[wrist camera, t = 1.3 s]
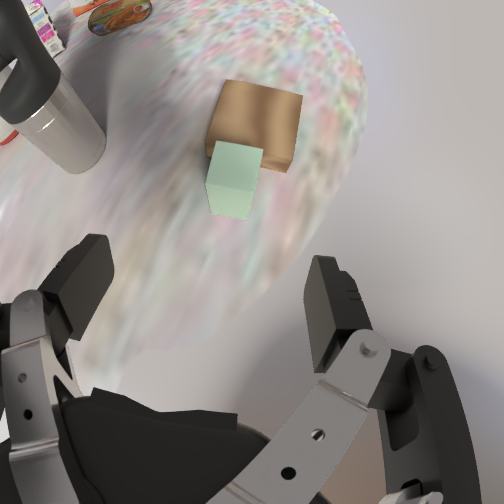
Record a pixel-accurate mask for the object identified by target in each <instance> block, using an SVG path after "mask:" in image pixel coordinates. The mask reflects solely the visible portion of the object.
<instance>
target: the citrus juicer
mask: <svg viewBox="0 0 504 504" xmlns="http://www.w3.org/2000/svg"><path fill="white" fill-rule="evenodd" d="M11 72H12V69H11V68H10V67H9V66H7V67H5V68H4V69H3V70H2V71H1V72H0V91H1V89H2V87H3V85H4V83H5V82H6V80H7V78H8V77H9V75H10V74H11ZM18 133H19V132H18V131H17V130H16V129H14V128H13V127H12V126H11V125H10V124H9V123H7V122H6V121H5V120H4V119H3V118H2V117H1V116H0V145H4V144H7V143H8V142H10V141H11V140H12V139H13V138H14V137H15V136H16V135H17V134H18Z"/></svg>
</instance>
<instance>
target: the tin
mask: <svg viewBox="0 0 504 504" xmlns="http://www.w3.org/2000/svg"><path fill="white" fill-rule="evenodd" d="M151 9H152V4H151V2H150V0H114V1H111V2H109V3H106V4H104V5H101V6H99V7H98V8H96V9H95V10H94V11H93V12H92V14H91V15H90V18H89V21H88V28H89V30H90V31H91V32H92V33H94V34H98V35H105V34H109V33H111V32H114V31H116V30H119V29H121V28H124V27H127V26H130V25H132V24H135V23H138V22H140V21H142V20H144V19H145V18H146V17H147V16H148V15H149V14H150V12H151Z"/></svg>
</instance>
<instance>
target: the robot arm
mask: <svg viewBox="0 0 504 504" xmlns="http://www.w3.org/2000/svg"><path fill="white" fill-rule="evenodd" d="M16 58H17V59H18V60H17V62H16V65H15V67H14V69H13V70H12V72H11V74H10V75H9V77H8V78H7V80H6V82H5V83H4V85H3V87H2V89H1V91H0V116H1V117H2V118H3V119H4V120H5V121H6V122H7V123H9V124H10V125H11V126H12V127H13V128H14V129H16V130H17V131H18V132H19V133H20V134H22V135H23V136H24V137H25V138H26V139H28V140H29V141H30V142H31V143H32V144H34V145H35V146H36V147H37V148H38V149H40V150H41V151H42V152H43V153H44V154H46V155H47V156H48V157H49V158H51V159H52V160H53V161H54V162H55V163H57V164H58V165H59V166H60V167H62V168H63V169H64V170H66V171H67V172H69V173H72V174H78V173H82V172H85V171H86V170H88V169H90V168H91V167H92V166H93V165H94V164H95V163H96V162H97V161H98V160H99V158H100V157H101V155H102V153H103V151H104V148H105V145H106V137H105V134H104V132H103V130H102V129H101V128H100V126H99V125H98V123H97V122H96V121H95V119H94V118H93V116H92V115H91V113H90V112H89V111H88V109H87V108H86V106H85V105H84V104H83V102H82V101H81V99H80V98H79V96H78V95H77V93H76V92H75V91H74V89H73V88H72V86H71V85H70V83H69V82H68V80H67V79H66V77H65V76H64V74H63V73H62V71H61V70H60V68H59V67H58V65H57V64H56V63H55V61H54V60H53V58H52V57H51V55H50V54H49V52H48V51H47V49H46V48H45V46H44V44H43V43H42V41H41V39H40V37H39V35H38V33H37V32H36V30H35V27H34V25H33V23H32V21H31V19H30V17H29V15H28V13H27V11H26V9H25V7H24V5H23V3H22V1H21V0H0V72H1V71H2V70H3V69H4V68H5V67H7V66H8V65H9V64H10V63H11V62H12V61H13V60H14V59H16ZM113 277H114V264H113V260H112V255H111V250H110V245H109V240H108V238H107V236H106V235H101V234H88V235H86V237H85V238H84V239H83V240H82V241H81V242H80V243H79V245H76V246H75V247H73V248H72V249H70V250H69V251H67V253H66V254H65V255H64V256H63V257H62V259H61V261H59V262H58V263H57V265H56V267H55V268H53V270H52V271H51V272H50V273H49V275H48V276H47V277H46V279H45V280H44V281H43V282H42V284H41V285H40V286H39V288H38V289H37V290H27V291H24V292H22V293H21V294H19V295H18V296H17V297H16V298H15V299H14V301H13V302H12V303H6V304H1V303H0V420H1V417H2V414H3V411H4V408H5V411H6V418H7V424H8V430H9V435H10V438H8V439H6V440H5V441H3V442H2V443H0V504H332V503H331V502H330V501H329V500H328V499H327V498H326V497H324V495H323V494H321V492H319V490H320V488H321V487H322V485H323V484H324V483H325V481H326V480H327V478H328V477H329V476H330V474H331V473H332V471H333V470H334V468H335V467H336V466H337V464H338V462H339V461H340V459H341V458H342V456H343V455H344V453H345V452H346V450H347V448H348V447H349V445H350V443H351V442H352V440H353V439H354V437H355V435H356V433H357V432H358V430H359V428H360V426H361V425H362V423H363V421H364V419H365V417H366V415H367V413H368V410H369V408H374V409H377V413H378V420H379V426H380V433H381V440H382V449H383V457H384V467H385V478H386V491H387V496H385V497H384V498H383V499H382V500H381V501H380V502H379V504H482V501H481V491H480V484H479V477H478V471H477V465H476V460H475V454H474V450H473V445H472V441H471V436H470V432H469V428H468V424H467V421H466V417H465V414H464V410H463V407H462V403H461V400H460V397H459V394H458V391H457V388H456V385H455V382H454V379H453V376H452V374H451V371H450V368H449V365H448V363H447V360H446V358H445V356H444V355H443V354H442V353H441V352H440V351H439V350H438V349H436V348H435V347H432V346H429V345H423V346H420V347H418V348H417V349H416V350H415V352H414V353H413V354H409V353H405V352H401V351H397V350H394V349H391V348H390V345H389V343H388V341H387V340H386V339H385V338H384V337H383V336H382V335H380V334H379V333H377V332H375V331H373V329H372V326H371V323H370V320H369V317H368V315H367V312H366V309H365V306H364V304H363V301H361V299H362V298H361V296H360V293H359V292H358V288H357V285H356V283H355V280H354V279H353V278H352V277H351V276H350V275H349V274H348V273H347V272H346V271H340V270H339V267H338V265H337V262H336V259H335V258H334V257H330V256H320V255H315V256H314V257H313V259H312V263H311V266H310V270H309V274H308V277H307V281H306V284H305V289H304V307H305V313H306V319H307V325H308V332H309V339H310V346H311V352H312V360H313V367H314V373H325V375H324V377H323V378H322V379H321V380H320V381H319V382H318V383H317V384H316V386H315V387H314V388H313V389H312V391H311V392H310V393H309V395H308V396H307V397H306V399H305V400H304V401H303V402H302V404H301V405H300V406H299V408H298V409H297V410H296V411H295V412H294V414H293V415H292V416H291V417H290V419H289V420H288V421H287V422H286V423H285V425H284V426H283V427H282V428H281V430H280V431H279V432H278V433H277V434H276V435H275V436H274V437H273V439H272V440H270V439H269V438H268V437H267V436H265V435H264V434H262V433H261V432H259V431H257V430H255V429H253V428H251V427H249V426H246V425H243V424H241V423H238V422H237V416H238V414H235V413H223V412H213V411H205V410H190V411H178V412H177V411H176V412H157V411H154V410H152V409H150V408H148V407H146V406H144V405H142V404H140V403H138V402H136V401H134V400H132V399H130V398H128V397H126V396H124V395H120V394H116V393H112V392H109V391H105V390H102V389H98V388H95V387H94V388H93V390H92V393H91V396H83V394H82V392H81V391H80V388H79V386H78V383H77V379H76V375H75V372H74V368H73V364H72V360H71V355H70V351H69V347H68V345H67V341H68V339H69V338H70V339H74V340H77V341H80V340H81V338H82V336H83V334H84V332H85V330H86V328H87V326H88V324H89V322H90V320H91V318H92V316H93V315H94V313H95V311H96V309H97V307H98V305H99V304H100V302H101V300H102V298H103V296H104V295H105V293H106V291H107V289H108V288H109V286H110V284H111V283H112V280H113ZM368 407H369V408H368Z"/></svg>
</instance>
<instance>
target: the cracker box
mask: <svg viewBox="0 0 504 504" xmlns="http://www.w3.org/2000/svg"><path fill="white" fill-rule="evenodd" d="M107 1H109V0H69V2H70V5H71V7H72V9H73V12H74V14H75V16H76V17H77V16H78V15H80V14H82V13H84V12H86V11H88V10H90V9H92V8H94V7H96V6H98V5H101V4H103V3H105V2H107Z"/></svg>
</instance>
